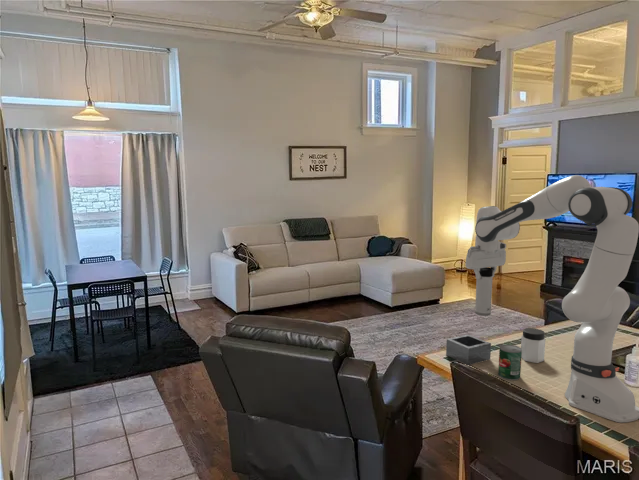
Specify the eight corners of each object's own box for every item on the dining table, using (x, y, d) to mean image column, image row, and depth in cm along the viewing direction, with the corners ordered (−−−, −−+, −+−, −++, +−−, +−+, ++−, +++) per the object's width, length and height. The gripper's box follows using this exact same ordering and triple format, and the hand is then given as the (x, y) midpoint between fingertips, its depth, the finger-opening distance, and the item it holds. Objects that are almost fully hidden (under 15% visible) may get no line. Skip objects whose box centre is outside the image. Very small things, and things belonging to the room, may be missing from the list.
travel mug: (492, 316, 195) (495, 269, 192) (476, 315, 196) (478, 268, 193) (490, 312, 201) (492, 266, 198) (474, 311, 202) (476, 266, 199)
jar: (517, 355, 198) (518, 327, 197) (536, 354, 198) (538, 327, 197) (527, 363, 189) (529, 334, 188) (547, 363, 190) (549, 334, 188)
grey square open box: (490, 359, 193) (491, 343, 192) (468, 365, 188) (468, 348, 187) (467, 349, 204) (468, 334, 203) (446, 354, 199) (446, 339, 198)
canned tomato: (493, 375, 178) (495, 347, 177) (505, 369, 183) (506, 342, 182) (513, 382, 172) (514, 353, 171) (524, 376, 177) (526, 348, 175)
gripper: (474, 247, 186) (472, 281, 188) (509, 244, 196) (507, 276, 198) (462, 245, 192) (461, 278, 194) (497, 242, 202) (495, 273, 204)
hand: (484, 277), depth 196 cm, fingers closed on travel mug, 6 cm apart
